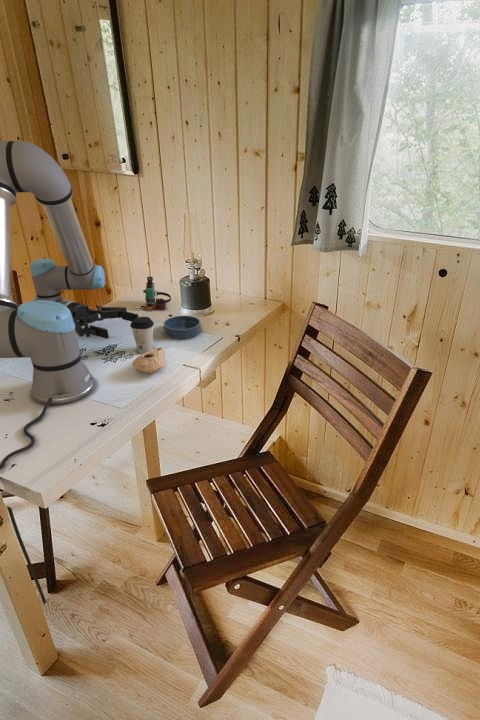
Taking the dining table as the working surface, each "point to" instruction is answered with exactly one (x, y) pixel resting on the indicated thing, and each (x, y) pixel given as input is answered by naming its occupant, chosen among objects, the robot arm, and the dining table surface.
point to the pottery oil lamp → (150, 361)
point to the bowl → (182, 327)
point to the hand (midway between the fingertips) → (123, 326)
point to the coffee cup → (143, 333)
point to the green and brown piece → (151, 296)
